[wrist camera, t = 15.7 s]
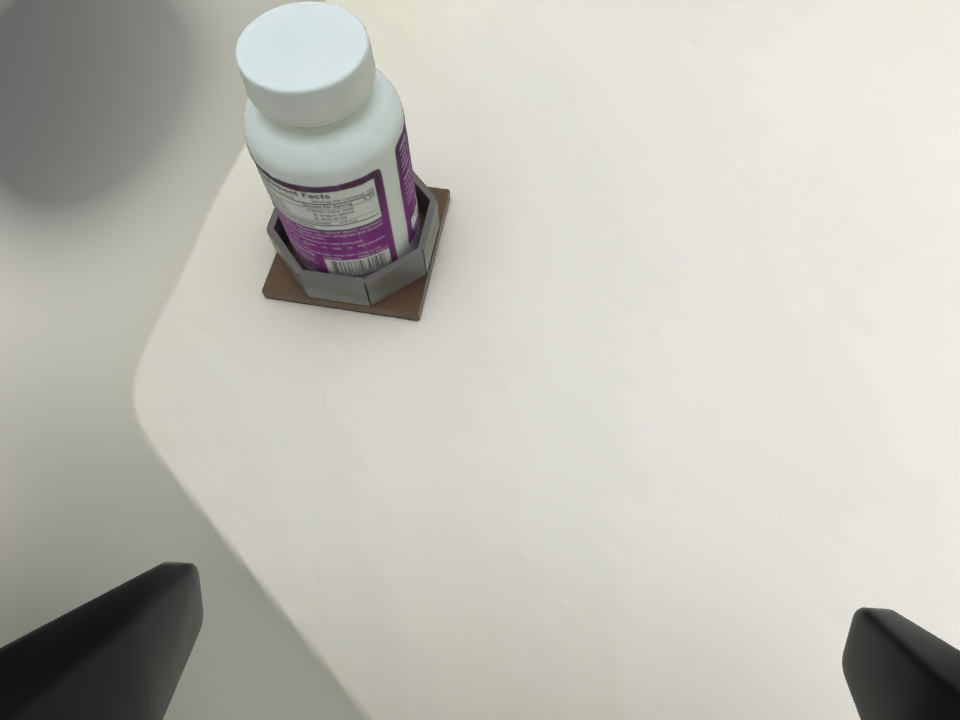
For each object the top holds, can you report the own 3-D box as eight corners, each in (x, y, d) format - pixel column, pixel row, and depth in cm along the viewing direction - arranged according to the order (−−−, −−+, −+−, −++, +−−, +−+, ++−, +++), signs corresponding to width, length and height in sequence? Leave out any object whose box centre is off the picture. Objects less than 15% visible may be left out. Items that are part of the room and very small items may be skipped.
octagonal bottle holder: (419, 320, 27) (414, 293, 25) (264, 297, 27) (248, 268, 25) (450, 196, 30) (448, 163, 28) (310, 178, 30) (298, 144, 28)
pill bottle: (341, 176, 30) (282, -35, 21) (444, 219, 28) (426, 15, 20) (270, 263, 27) (171, 68, 19) (378, 314, 26) (325, 131, 18)
